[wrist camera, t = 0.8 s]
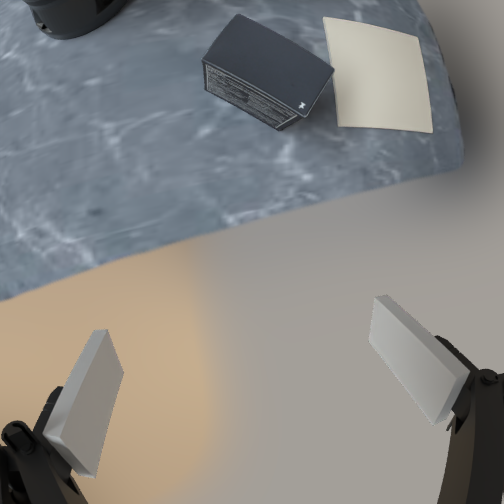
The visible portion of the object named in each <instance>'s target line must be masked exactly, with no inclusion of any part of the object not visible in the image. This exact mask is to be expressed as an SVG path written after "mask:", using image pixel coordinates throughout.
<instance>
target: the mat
mask: <svg viewBox="0 0 504 504" xmlns="http://www.w3.org/2000/svg"><path fill="white" fill-rule="evenodd" d="M323 24H324V29H325V35H326V40H327V46H328V52H329V58H330V65H331V66H332V67H333V68H334V69H335V72H334V73H333V75H332V79H333V87H334V95H335V104H336V113H337V123H338V127H364V128H381V129H394V130H405V131H415V132H424V133H433V127H432V117H431V108H430V100H429V93H428V86H427V80H426V74H425V69H424V63H423V58H422V54H421V49H420V45H419V41H418V37H415V36H412V35H408V34H405V33H401V32H398V31H394V30H390V29H386V28H382V27H378V26H374V25H369V24H364V23H359V22H354V21H349V20H343V19H336V18H329V17H323Z"/></svg>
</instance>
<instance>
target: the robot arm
mask: <svg viewBox="0 0 504 504" xmlns="http://www.w3.org/2000/svg"><path fill="white" fill-rule="evenodd" d="M23 1H24V2H26V3H27V4H28V5H29V7H30V10H31V12H32V15H33V17H34V20H35V23H36V25H37V27H38V28H39V29H40V30H41V31H42V32H43V33H45V34H46V35H48V36H49V37H51V38H54V39H71V38H75V37H78V36H81V35H84V34H86V33H88V32H90V31H92V30H94V29H96V28H97V27H99V26H101V25H102V24H104V23H105V22H106V21H108V20H109V19H110V18H111V17H113V16H114V15H115V14H116V13H117V12H118V11H119V10H120V9H121V8H122V7H123V6H124V4H125V3H126V2H127V0H23ZM368 342H369V343H370V344H371V345H372V346H373V348H374V349H375V350H376V352H377V353H378V354H379V355H380V357H381V358H382V359H383V361H384V362H385V363H386V364H387V366H388V367H389V368H390V370H391V371H392V372H393V374H394V375H395V376H396V377H397V379H398V380H399V381H400V383H401V384H402V385H403V387H404V388H405V389H406V390H407V392H408V393H409V395H410V396H411V397H412V399H413V400H414V401H415V402H416V404H417V405H418V406H419V408H420V409H421V411H422V412H423V413H424V415H425V416H426V417H427V419H428V420H429V421H430V423H431V424H432V425H433V426H434V425H436V424H438V423H439V422H441V421H443V420H445V419H446V418H447V416H448V415H449V413H450V411H451V410H452V411H453V412H454V413H455V415H454V417H453V418H452V420H451V422H450V424H449V425H448V427H447V429H446V431H448V430H449V429H450V427H451V426H452V429H451V437H450V445H449V451H448V457H447V463H446V468H445V474H444V478H443V482H442V486H441V491H440V495H439V498H438V502H437V504H501V501H502V494H503V493H504V373H503V374H497V373H496V372H494V371H493V370H490V369H482V370H479V369H478V368H476V367H475V366H474V365H473V364H472V363H471V362H470V361H469V360H468V359H467V358H466V357H465V356H464V355H463V354H462V353H459V351H458V350H457V349H456V348H454V346H453V345H452V344H451V343H450V342H449V341H448V340H446V339H444V338H442V337H440V336H438V335H437V336H433V335H432V334H431V333H430V332H428V331H427V330H426V329H425V328H424V327H423V326H422V325H421V324H420V323H419V322H418V321H416V320H415V319H414V318H413V317H412V316H411V315H410V314H409V313H407V312H406V311H405V310H404V309H403V308H402V307H401V306H400V305H398V304H397V303H396V302H395V301H394V300H393V299H392V298H390V297H389V296H388V295H383V296H378V297H375V299H374V308H373V314H372V321H371V328H370V334H369V340H368ZM123 374H124V371H123V369H122V367H121V364H120V362H119V359H118V356H117V354H116V352H115V349H114V346H113V343H112V340H111V338H110V335H109V332H108V330H107V329H106V330H94V331H93V333H92V335H91V336H90V338H89V340H88V342H87V344H86V345H85V347H84V349H83V351H82V353H81V355H80V356H79V359H78V360H77V362H76V364H75V366H74V368H73V370H72V372H71V374H70V376H69V377H68V380H67V381H66V384H65V385H64V387H60V386H58V387H57V388H56V389H55V390H54V391H53V392H52V393H51V394H50V396H49V398H48V400H47V402H46V404H45V406H44V408H43V411H42V412H41V414H40V416H39V418H38V420H37V422H36V425H35V427H34V429H33V431H31V430H30V428H28V426H27V425H26V423H24V422H22V421H13V422H10V423H9V424H7V425H6V426H5V428H4V429H3V431H2V434H1V439H2V440H3V441H4V442H5V444H6V445H7V446H1V444H0V504H88V502H87V501H86V499H85V497H84V496H83V494H82V492H81V491H80V489H79V487H78V485H77V484H76V482H75V480H74V478H73V477H72V476H71V475H70V473H71V470H72V469H73V470H74V471H75V472H76V473H77V474H78V475H80V476H86V477H91V478H96V474H97V469H98V465H99V461H100V456H101V452H102V448H103V444H104V440H105V436H106V432H107V429H108V425H109V421H110V418H111V414H112V411H113V407H114V404H115V400H116V397H117V394H118V390H119V387H120V384H121V380H122V378H123Z"/></svg>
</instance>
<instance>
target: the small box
mask: <svg viewBox="0 0 504 504" xmlns="http://www.w3.org/2000/svg"><path fill="white" fill-rule="evenodd" d="M202 63H203V71H204V72H203V73H204V83H205V87H204V89H205V90H206V91H208V92H210V93H212V94H214V95H216V96H217V97H219V98H221V99H223V100H225V101H227V102H228V103H231V104H232V105H234V106H236V107H238V108H240V109H241V110H243V111H245V112H247V113H248V114H250V115H252V116H253V117H255V118H257V119H259V120H260V121H262V122H264V123H266V124H267V125H269V126H271V127H273V128H274V129H276V130H277V131H281V130H283V128H285V127H287V126H289V125H291V124H292V123H294V122H296V121H298V120H300V119H302V118H305V117H307V116H308V114H309V112H310V111H311V109H312V107H313V106H314V104H315V102H316V101H317V99H318V98H319V96H320V94H321V92H322V91H323V89H324V88H325V86H326V85H327V83H328V81H329V80H330V78H331V76H332V75H333V73H334V72H335V69H334V68H333V67H332V66H330V65H329V64H327V63H326V62H324V61H323V60H321V59H320V58H318V57H317V56H315V55H313V54H312V53H310V52H309V51H307V50H305V49H304V48H302V47H300V46H299V45H297V44H295V43H294V42H292V41H290V40H289V39H287V38H285V37H283V36H282V35H280V34H278V33H276V32H274V31H272V30H271V29H269V28H267V27H265V26H263V25H261V24H259V23H257V22H255V21H253V20H251V19H249V18H247V17H245V16H243V15H241V14H236V15H235V16H234V18H233V19H232V20H231V21H230V22H229V23H228V24H227V26H226V27H225V28H224V29H223V31H222V32H221V33H220V34H219V36H218V37H217V38H216V40H215V41H214V42H213V43H212V45H211V46H210V48H209V49H208V50H207V52H206V53H205V54H204V56H203V57H202Z"/></svg>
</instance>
